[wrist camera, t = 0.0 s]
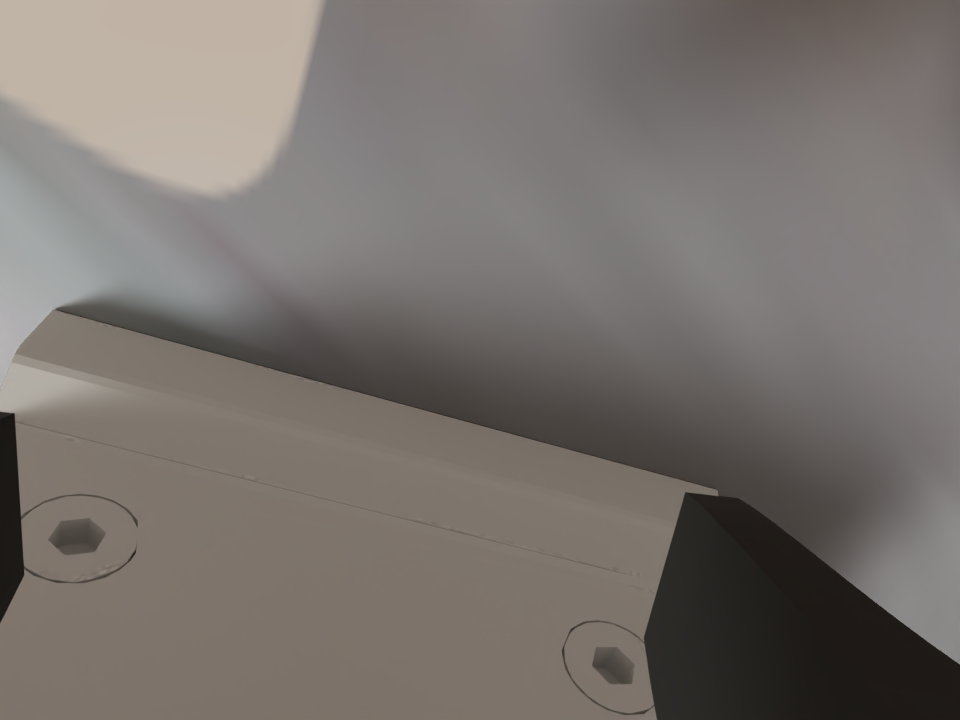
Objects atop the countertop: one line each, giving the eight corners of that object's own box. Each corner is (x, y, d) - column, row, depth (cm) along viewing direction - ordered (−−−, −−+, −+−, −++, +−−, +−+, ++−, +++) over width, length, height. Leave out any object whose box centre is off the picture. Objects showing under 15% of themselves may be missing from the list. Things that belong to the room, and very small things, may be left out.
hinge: (732, 493, 21) (871, 950, 13) (655, 618, 24) (727, 1067, 15) (34, 304, 19) (-353, 699, 11) (30, 462, 22) (-286, 883, 13)
